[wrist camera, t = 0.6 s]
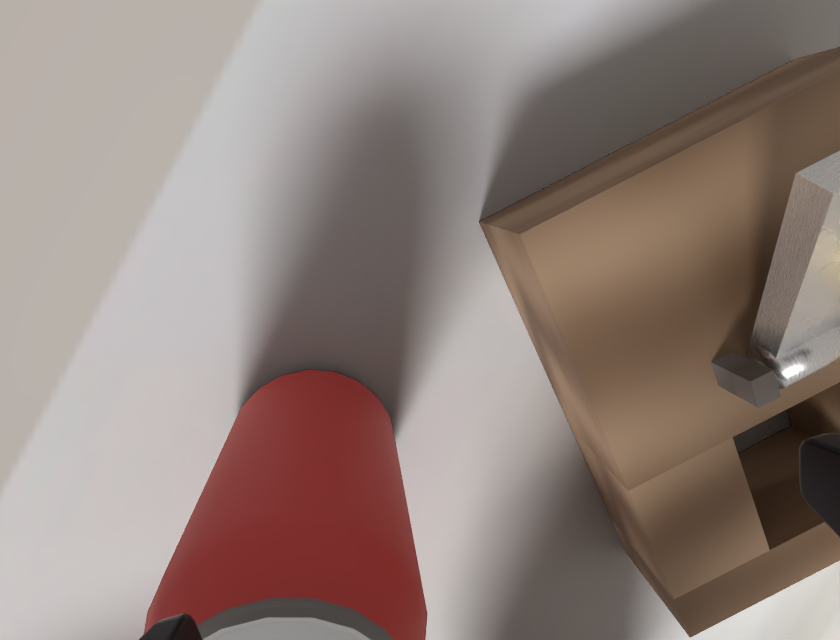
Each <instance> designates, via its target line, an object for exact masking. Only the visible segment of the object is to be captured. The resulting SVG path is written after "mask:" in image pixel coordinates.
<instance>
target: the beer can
mask: <svg viewBox="0 0 840 640" xmlns="http://www.w3.org/2000/svg"><path fill="white" fill-rule="evenodd" d="M184 613H185V614H189V615H191V616H192V617H193V619H194V621H195V623H196V625H197V627H198V630H199V632H200V634H201V637H202V639H203V640H425V637H426V623H427V610H426V604H425V599H424V594H423V588H422V583H421V577H420V572H419V567H418V561H417V556H416V550H415V545H414V540H413V534H412V529H411V524H410V518H409V513H408V507H407V502H406V497H405V491H404V486H403V480H402V475H401V470H400V464H399V459H398V454H397V448H396V443H395V438H394V433H393V428H392V423H391V419H390V416H389V414H388V413H387V411H386V409H385V408H384V406H383V404H382V403H381V401H380V400H379V398H378V397H377V396H376V395H375V394H374V393H372V392H371V391H370V390H369V389H368V388H366V387H365V386H364V385H363V384H361V383H360V382H359V381H357V380H354V379H352V378H349V377H347V376H344V375H342V374H339V373H336V372H330V371H318V370H305V371H300V372H295V373H291V374H286V375H282V376H280V377H278V378H276V379H275V380H273V381H271V382H269V383H267V384H266V385H264V386H262V387H260V388H259V389H258V390H257V391H256V392H255V393H254V394H253V395H252V396H251V397H250V398H249V399H248V401H247V402H246V403H245V404H244V405H243V406H242V407H241V409H240V412H239V414H238V416H237V418H236V420H235V422H234V425H233V427H232V429H231V431H230V433H229V435H228V438H227V440H226V442H225V444H224V446H223V448H222V450H221V453H220V455H219V457H218V459H217V461H216V463H215V466H214V468H213V470H212V472H211V474H210V476H209V479H208V481H207V483H206V485H205V487H204V489H203V492H202V494H201V496H200V498H199V500H198V502H197V504H196V507H195V509H194V511H193V513H192V515H191V517H190V520H189V522H188V524H187V526H186V528H185V530H184V533H183V535H182V537H181V539H180V541H179V543H178V545H177V548H176V550H175V552H174V554H173V556H172V558H171V561H170V563H169V565H168V567H167V569H166V571H165V574H164V576H163V578H162V580H161V583H160V585H159V587H158V589H157V592H156V594H155V596H154V599H153V601H152V603H151V606H150V608H149V610H148V613H147V618H146V624H145V630H144V634H145V633H146V632H147V631H148V630H149V629H150V628H151V626H153V625H154V624H155V623H156V622H158V621H160V620H162V619H165V618H169V617H173V616H176V615H180V614H184Z"/></svg>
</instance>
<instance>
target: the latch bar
mask: <svg viewBox="0 0 840 640" xmlns="http://www.w3.org/2000/svg"><path fill="white" fill-rule="evenodd" d="M749 346H750V347H749V348H748V350H747V357H748V359H750V360H752V361H755V362H757V363H759V364H761V365H764V366H766V367H768V368H770V369H773V370H774V373H775V376H776V380H777V383H778V387H779V389H783V388H785V387H787V386H789V385H791V384H793V383H795V382H797V381H799V380H801V379H803V378H805V377H807V376H809V375H811V374H813V373H815V372H816V371H818V370H820V369H822V368H824V367H826V366H828V365H830V364H832V363H834V362H836V361H838V360H840V151H838V152H836V153H834V154H832V155H830V156H828V157H826V158H824V159H822V160H820V161H819V162H817V163H815V164H813V165H811V166H809V167H807V168H805V169H803V170H801V171H799V172H797V173H796V174H795V178H794V181H793V185H792V189H791V192H790V196H789V200H788V203H787V207H786V211H785V214H784V218H783V222H782V225H781V229H780V233H779V236H778V240H777V244H776V247H775V251H774V255H773V258H772V262H771V266H770V269H769V273H768V277H767V280H766V284H765V288H764V291H763V295H762V299H761V302H760V306H759V310H758V313H757V317H756V321H755V324H754V328H753V332H752V335H751V339H750V343H749Z"/></svg>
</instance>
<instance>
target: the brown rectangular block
mask: <svg viewBox="0 0 840 640" xmlns="http://www.w3.org/2000/svg"><path fill="white" fill-rule="evenodd" d="M838 151H840V47H838V48H835V49H831V50H827V51H824V52H820V53H816V54H812V55H809V56H805V57H801V58H798V59H795V60H793V61H791V62H789V63H787V64H785V65H783V66H781V67H779V68H777V69H775V70H773V71H771V72H769V73H768V74H766V75H764V76H762V77H760V78H758V79H756V80H754V81H752V82H750V83H748V84H746V85H744V86H742V87H740V88H738V89H736V90H734V91H732V92H731V93H729V94H727V95H725V96H723V97H721V98H719V99H717V100H715V101H713V102H711V103H709V104H707V105H705V106H703V107H701V108H699V109H697V110H695V111H694V112H692V113H690V114H688V115H686V116H684V117H682V118H680V119H678V120H676V121H674V122H672V123H670V124H668V125H666V126H664V127H662V128H660V129H658V130H656V131H655V132H653V133H651V134H649V135H647V136H645V137H643V138H641V139H639V140H637V141H635V142H633V143H631V144H629V145H627V146H625V147H623V148H621V149H619V150H618V151H616V152H614V153H612V154H610V155H608V156H606V157H604V158H602V159H600V160H598V161H596V162H594V163H592V164H590V165H588V166H586V167H584V168H582V169H581V170H579V171H577V172H575V173H573V174H571V175H569V176H567V177H565V178H563V179H561V180H559V181H557V182H555V183H553V184H551V185H549V186H547V187H545V188H543V189H542V190H540V191H538V192H536V193H534V194H532V195H530V196H528V197H526V198H524V199H522V200H520V201H518V202H516V203H514V204H512V205H510V206H508V207H506V208H505V209H503V210H501V211H499V212H497V213H495V214H493V215H491V216H489V217H487V218H485V219H483V220H481V221H479V223H480V225H481V227H482V229H483V232H484V234H485V236H486V238H487V241H488V243H489V245H490V247H491V250H492V252H493V254H494V256H495V259H496V261H497V263H498V265H499V268H500V270H501V272H502V275H503V277H504V279H505V281H506V284H507V286H508V288H509V290H510V293H511V295H512V297H513V299H514V302H515V304H516V306H517V308H518V311H519V313H520V315H521V317H522V320H523V322H524V324H525V326H526V329H527V331H528V333H529V335H530V338H531V340H532V342H533V344H534V347H535V349H536V351H537V353H538V356H539V358H540V360H541V362H542V365H543V367H544V369H545V371H546V374H547V376H548V378H549V380H550V383H551V385H552V387H553V389H554V392H555V394H556V396H557V398H558V401H559V403H560V405H561V407H562V410H563V412H564V414H565V416H566V419H567V421H568V423H569V425H570V428H571V430H572V432H573V434H574V437H575V439H576V441H577V443H578V446H579V448H580V450H581V452H582V455H583V457H584V459H585V461H586V464H587V466H588V468H589V470H590V473H591V475H592V477H593V479H594V482H595V484H596V486H597V488H598V491H599V493H600V495H601V497H602V500H603V502H604V504H605V506H606V509H607V511H608V513H609V515H610V518H611V520H612V522H613V524H614V527H615V529H616V531H617V533H618V536H619V538H620V540H621V542H622V545H623V547H624V549H625V551H626V553H627V554H628V556H629V557H630V558H631V560H632V561H633V562H634V564H635V565H636V566H637V568H638V569H639V570H640V572H641V573H642V574H643V576H644V577H645V578H646V580H647V581H648V582H649V583H650V585H651V586H652V587H653V589H654V590H655V591H656V593H657V594H658V595H659V597H660V598H661V599H662V601H663V602H664V603H665V605H666V606H667V607H668V609H669V610H670V611H671V613H672V614H673V615H674V617H675V618H676V619H677V621H678V622H679V623H680V625H681V626H682V627H683V629H684V630H685V631H686V633H687V634H688V635H689V637H692V636H694V635H696V634H698V633H700V632H702V631H704V630H706V629H708V628H709V627H711V626H713V625H715V624H717V623H719V622H721V621H723V620H725V619H727V618H729V617H731V616H733V615H735V614H737V613H739V612H740V611H742V610H744V609H746V608H748V607H750V606H752V605H754V604H756V603H758V602H760V601H762V600H764V599H766V598H768V597H770V596H771V595H773V594H775V593H777V592H779V591H781V590H783V589H785V588H787V587H789V586H791V585H793V584H795V583H797V582H799V581H801V580H803V579H804V578H806V577H808V576H810V575H812V574H814V573H816V572H818V571H820V570H822V569H824V568H826V567H828V566H830V565H832V564H834V563H835V562H837V561H839V560H840V537H839V536H838V535H837V534H836V533H835V532H834V531H833V530H832V529H831V528H830V527H829V526H828V525H827V524H826V523H825V522H824V521H823V520H822V519H821V517H820V516H819V515H818V514H817V513H816V512H815V511H814V510H813V509H812V508H811V507H810V506H809V505H808V504H807V502H806V501H805V499H804V497H803V495H802V493H801V490H800V480H799V447H800V445H801V443H802V441H804V440H805V439H807V438H810V437H814V436H818V435H821V434H825V433H838V434H840V360H838V361H836V362H834V363H832V364H830V365H828V366H826V367H824V368H822V369H820V370H818V371H816V372H815V373H813V374H811V375H809V376H807V377H805V378H803V379H801V380H799V381H797V382H795V383H793V384H791V385H789V386H787V387H785V388H783V389H779V387H778V383H777V380H776V376H775V373H774V370H773V369H770V368H768V367H766V366H764V365H761V364H759V363H757V362H755V361H752V360H750V359H748V357H747V350H748V348H749V347H750V346H749V343H750V339H751V335H752V332H753V328H754V324H755V321H756V317H757V313H758V310H759V306H760V302H761V299H762V295H763V291H764V288H765V284H766V280H767V277H768V273H769V269H770V266H771V262H772V258H773V255H774V251H775V247H776V244H777V240H778V236H779V233H780V229H781V225H782V222H783V218H784V214H785V211H786V207H787V203H788V200H789V196H790V192H791V189H792V185H793V181H794V178H795V174H796V173H797V172H799V171H801V170H803V169H805V168H807V167H809V166H811V165H813V164H815V163H817V162H819V161H820V160H822V159H824V158H826V157H828V156H830V155H832V154H834V153H836V152H838ZM785 410H787V411H788V415H789V418H790V422H791V425H792V426H791V427H789V428H787V429H785V430H783V431H781V432H779V433H777V434H775V435H773V436H771V437H769V438H767V439H765V440H763V441H761V442H759V443H758V444H756V445H754V446H752V447H750V448H748V449H746V450H744V451H742V452H740V453H738V452H737V449H736V446H735V443H734V440H733V437H734V436H736V435H738V434H740V433H742V432H744V431H746V430H748V429H750V428H752V427H754V426H756V425H757V424H759V423H761V422H763V421H765V420H767V419H769V418H771V417H773V416H775V415H777V414H779V413H781V412H783V411H785Z"/></svg>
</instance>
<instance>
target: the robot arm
mask: <svg viewBox="0 0 840 640" xmlns="http://www.w3.org/2000/svg"><path fill="white" fill-rule="evenodd" d="M799 480H800V490H801V493H802V495H803V497H804V499H805V501H806V502H807V504H808V505H809V506H810V507H811V508H812V509H813V510H814V511H815V512H816V513H817V514H818V515H819V516H820V517H821V519H822V520H823V521H824V522H825V523H826V524H827V525H828V526H829V527H830V528H831V529H832V530H833V531H834V532H835V533H836V534H837V535H838V536H839V537H840V434H838V433H825V434H821V435H818V436H814V437H810V438H807V439H805V440H804V441H802V443H801V445H800V447H799ZM139 640H203V639H202V637H201V634H200V632H199V630H198V627H197V625H196V623H195V621H194V619H193V617H192V616H191V615H189V614H185V613H184V614H180V615H176V616H173V617H169V618H165V619H162V620H160V621H158V622H156V623H155V624H154V625H153V626H151V628H150V629H149V630H148V631H147V632H146V633H145V634H144V635H143V636H142V637H141V638H140V639H139Z"/></svg>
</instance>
